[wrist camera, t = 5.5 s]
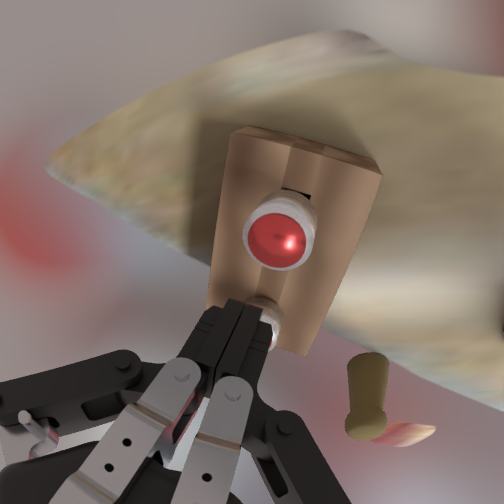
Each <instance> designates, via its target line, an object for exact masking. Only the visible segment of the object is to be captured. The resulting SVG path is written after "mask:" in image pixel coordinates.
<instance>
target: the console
mask: <svg viewBox="0 0 504 504" xmlns="http://www.w3.org/2000/svg"><path fill="white" fill-rule="evenodd" d="M382 176H383V175H382V173H381V171H380V169H379V167H378V165H377V163H376V161H374V160H371V159H368V158H365V157H362V156H359V155H356V154H353V153H350V152H347V151H344V150H340V149H337V148H334V147H331V146H327V145H324V144H321V143H317V142H314V141H310V140H306V139H303V138H299V137H295V136H291V135H287V134H284V133H279V132H275V131H271V130H267V129H263V128H258V127H254V126H246V127H243V128H241V129H238V130H236V131H233V132H231V133H230V139H229V145H228V151H227V157H226V163H225V170H224V176H223V183H222V189H221V196H220V203H219V210H218V217H217V224H216V231H215V239H214V246H213V254H212V262H211V270H210V278H209V287H208V295H207V304H206V310H207V309H209V308H210V307H212V306H213V305H215V306H218V307H220V308H224V306H225V304H226V302H227V300H228V299H229V298H232V299H235V300H238V301H241V302H245V301H246V300H248V299H250V298H255V297H260V298H265V299H268V300H271V301H273V302H274V303H275V304H277V305H278V306H279V307H280V309H281V310H282V312H283V322H282V326H281V329H280V332H279V336H278V339H277V342H276V345H275V347H277V348H280V349H283V350H287V351H290V352H294V353H297V354H300V355H303V356H306V355H307V353H308V351H309V348H310V347H311V345H312V343H313V341H314V339H315V337H316V335H317V333H318V331H319V329H320V327H321V325H322V323H323V321H324V318H325V316H326V314H327V312H328V310H329V308H330V306H331V304H332V301H333V299H334V297H335V295H336V293H337V290H338V288H339V286H340V284H341V281H342V279H343V277H344V275H345V272H346V270H347V268H348V265H349V263H350V261H351V258H352V256H353V253H354V251H355V249H356V246H357V244H358V241H359V239H360V236H361V234H362V231H363V229H364V226H365V223H366V221H367V218H368V215H369V213H370V210H371V207H372V205H373V202H374V199H375V196H376V194H377V191H378V188H379V185H380V182H381V179H382ZM287 188H288V189H292V190H295V191H299V192H302V193H306V194H309V195H311V198H310V202H311V203H312V205H313V206H314V208H315V211H316V214H317V228H316V233H315V238H314V243H313V248H312V251H311V254H310V256H309V257H308V259H307V260H306V261H305V262H304V263H303V264H301V265H300V266H298V267H296V268H294V269H291V270H284V271H278V270H272V269H269V268H266V267H264V266H262V265H260V264H259V263H257V262H256V261H255V260H254V259H253V258H252V257H251V256H250V255H249V253H248V252H247V250H246V248H245V245H244V242H243V229H244V226H245V223H246V221H247V220H248V218H249V217H250V215H251V214H252V213H253V211H254V210H255V208H256V207H257V206H258V204H259V203H260V202H261V200H262V199H263V198H264V197H265V196H266V195H268V194H269V193H271V192H274V191H277V190H287Z"/></svg>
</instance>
